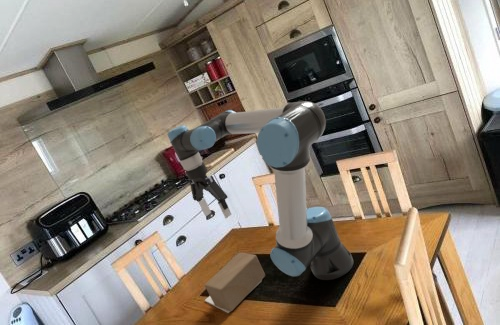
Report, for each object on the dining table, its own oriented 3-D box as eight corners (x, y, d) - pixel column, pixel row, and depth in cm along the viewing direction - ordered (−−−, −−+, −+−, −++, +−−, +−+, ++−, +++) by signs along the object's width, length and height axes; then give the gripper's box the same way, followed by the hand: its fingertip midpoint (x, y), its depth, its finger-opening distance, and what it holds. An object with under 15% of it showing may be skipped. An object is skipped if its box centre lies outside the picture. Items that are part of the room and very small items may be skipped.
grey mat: (262, 280, 143) (261, 279, 143) (228, 313, 133) (227, 311, 133) (237, 272, 156) (237, 271, 155) (205, 301, 146) (204, 300, 146)
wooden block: (266, 275, 144) (231, 312, 132) (249, 271, 151) (214, 306, 139) (256, 254, 141) (219, 289, 129) (239, 251, 149) (203, 284, 137)
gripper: (220, 159, 129) (245, 211, 135) (185, 163, 148) (207, 208, 154) (204, 169, 125) (230, 223, 130) (170, 172, 144) (193, 218, 149)
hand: (218, 215), depth 142 cm, fingers open, 13 cm apart
